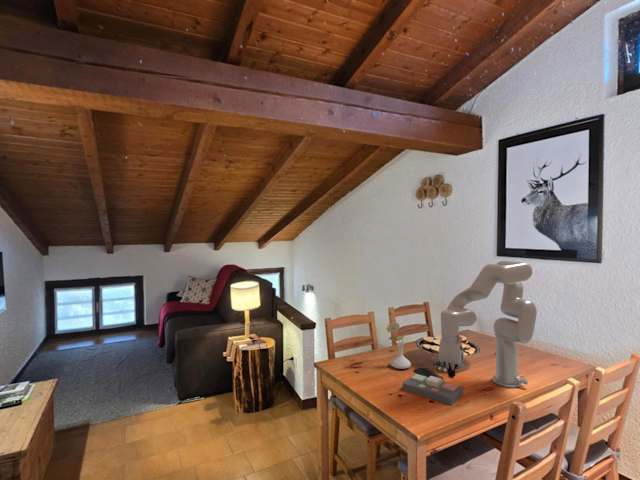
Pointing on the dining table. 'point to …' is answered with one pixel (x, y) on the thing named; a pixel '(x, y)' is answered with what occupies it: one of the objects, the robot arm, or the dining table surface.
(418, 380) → the key sage
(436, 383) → the key cream
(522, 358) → the dining table surface
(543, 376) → the dining table surface
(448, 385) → the key terracotta
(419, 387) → the keypad
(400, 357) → the flower in vase
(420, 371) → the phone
